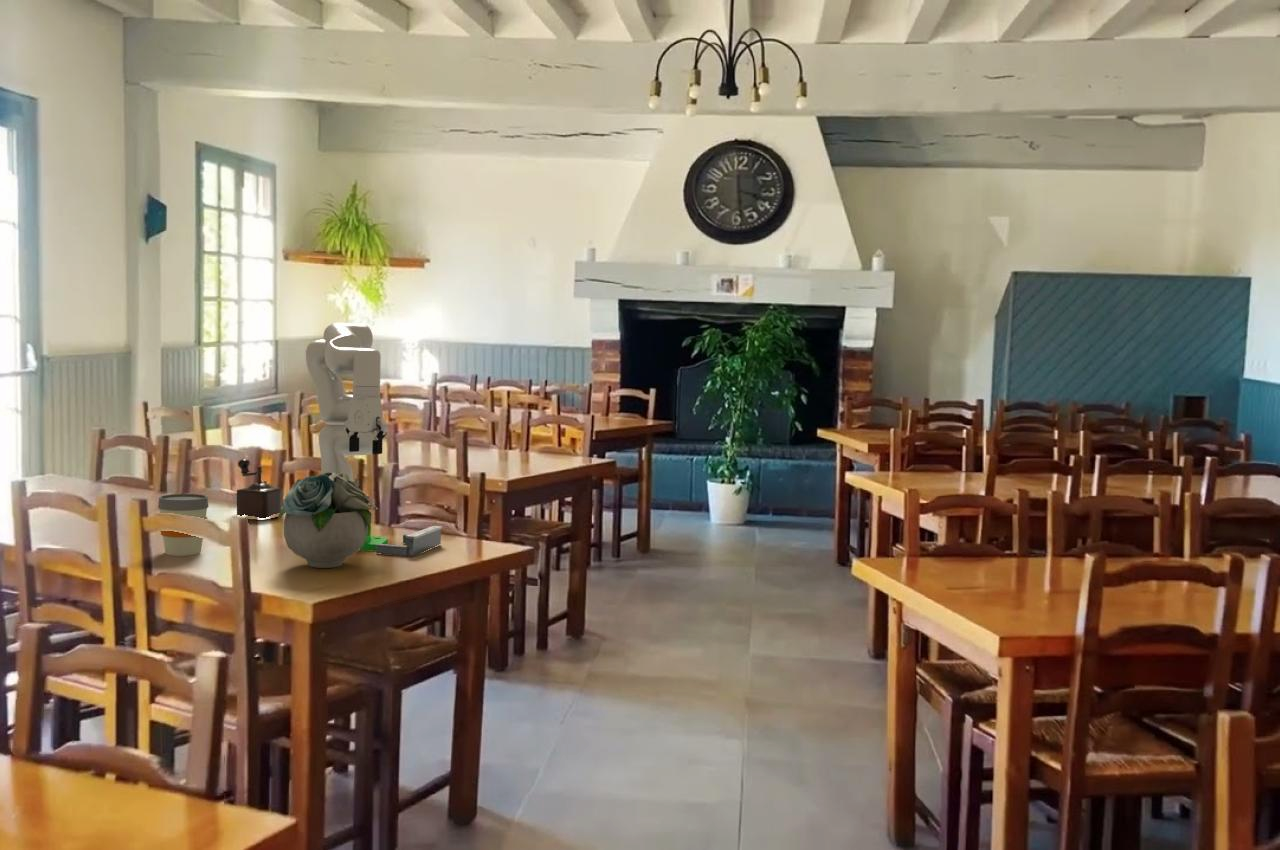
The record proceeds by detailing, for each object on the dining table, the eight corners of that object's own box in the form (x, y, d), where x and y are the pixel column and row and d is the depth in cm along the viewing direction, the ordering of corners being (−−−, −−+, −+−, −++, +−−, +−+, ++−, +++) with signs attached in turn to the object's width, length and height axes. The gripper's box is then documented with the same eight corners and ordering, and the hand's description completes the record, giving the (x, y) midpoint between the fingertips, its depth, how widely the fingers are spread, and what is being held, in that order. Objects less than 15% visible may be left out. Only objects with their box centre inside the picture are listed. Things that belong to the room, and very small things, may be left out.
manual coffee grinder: (284, 516, 375) (284, 460, 374) (264, 521, 364) (265, 464, 363) (241, 512, 379) (242, 457, 378) (221, 517, 368) (222, 461, 367)
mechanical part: (379, 551, 323) (380, 523, 322) (358, 550, 323) (358, 522, 323) (389, 544, 335) (390, 516, 334) (369, 543, 335) (369, 515, 335)
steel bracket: (376, 553, 319) (376, 533, 319) (405, 542, 337) (405, 523, 337) (414, 557, 316) (414, 536, 316) (441, 545, 334) (442, 526, 334)
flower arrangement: (387, 571, 296) (389, 476, 295) (287, 578, 284) (288, 479, 282) (359, 553, 318) (361, 465, 316) (265, 559, 306) (266, 467, 304)
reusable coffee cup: (159, 548, 315) (159, 493, 313) (208, 547, 319) (209, 493, 318) (156, 557, 303) (156, 500, 302) (207, 556, 307) (208, 500, 306)
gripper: (335, 391, 331) (335, 451, 332) (377, 394, 321) (376, 455, 322) (356, 391, 337) (355, 450, 338) (397, 393, 327) (396, 454, 328)
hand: (365, 452), depth 330 cm, fingers open, 9 cm apart
